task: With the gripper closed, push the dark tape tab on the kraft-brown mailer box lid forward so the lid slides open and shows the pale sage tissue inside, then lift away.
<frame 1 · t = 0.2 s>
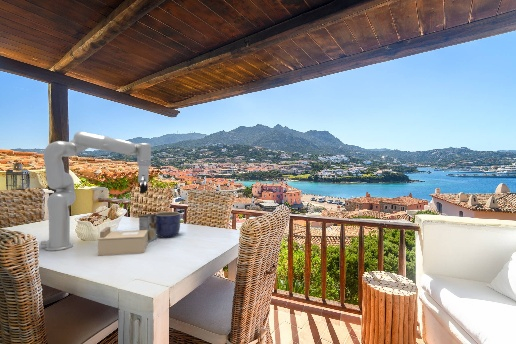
hand: (143, 192, 165), 31 cm above the table, tool pointing down, fingers open, 9 cm apart
planter: (167, 235, 185), on the table
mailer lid: (124, 249, 153), resting on mailer box, slide at 0.0 cm
mailer box: (124, 249, 153), on the table
coffee box: (147, 240, 173), on the table
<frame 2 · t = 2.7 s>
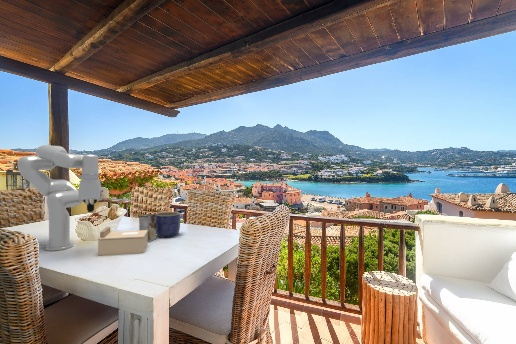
hand: (90, 211, 148), 22 cm above the table, tool pointing down, fingers closed
nothing on the table moved.
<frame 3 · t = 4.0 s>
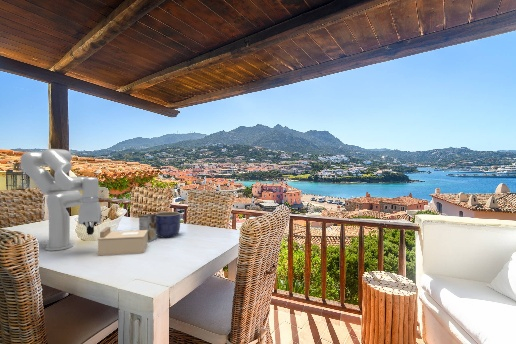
hand: (90, 234, 148), 10 cm above the table, tool pointing down, fingers closed
nothing on the table moved.
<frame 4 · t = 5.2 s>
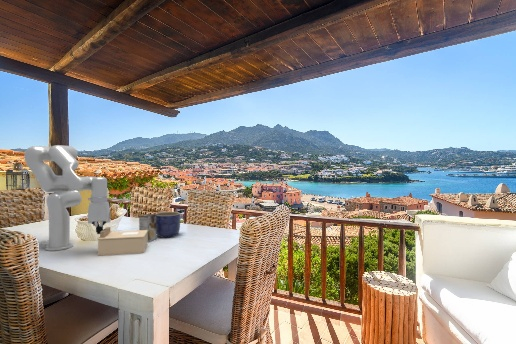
hand: (99, 233, 149), 10 cm above the table, tool pointing down, fingers closed
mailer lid: (124, 249, 153), resting on mailer box, slide at 0.0 cm, touching gripper
everything else where it was.
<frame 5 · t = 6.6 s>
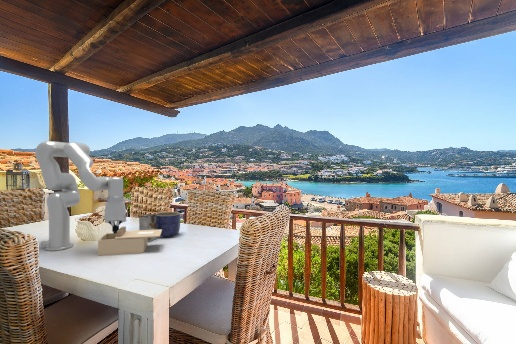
hand: (115, 232, 151), 10 cm above the table, tool pointing down, fingers closed
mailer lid: (139, 249, 155), resting on mailer box, slide at 8.0 cm, touching gripper
everything else where it was.
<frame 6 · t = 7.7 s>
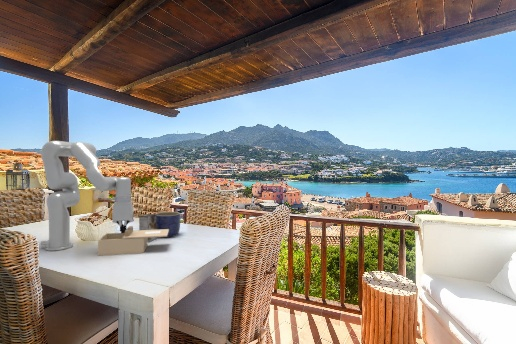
hand: (123, 232, 152), 10 cm above the table, tool pointing down, fingers closed
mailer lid: (147, 248, 156), resting on mailer box, slide at 11.9 cm, touching gripper
everything else where it was.
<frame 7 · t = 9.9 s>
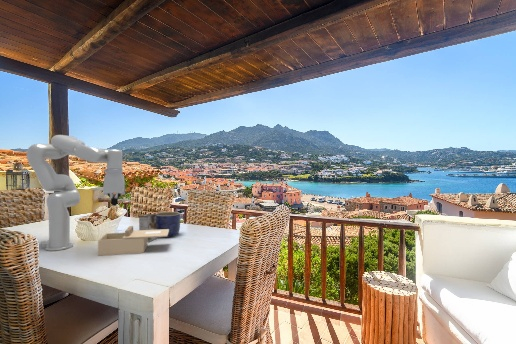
hand: (114, 205, 151), 25 cm above the table, tool pointing down, fingers closed
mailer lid: (147, 248, 156), resting on mailer box, slide at 12.0 cm
everything else where it was.
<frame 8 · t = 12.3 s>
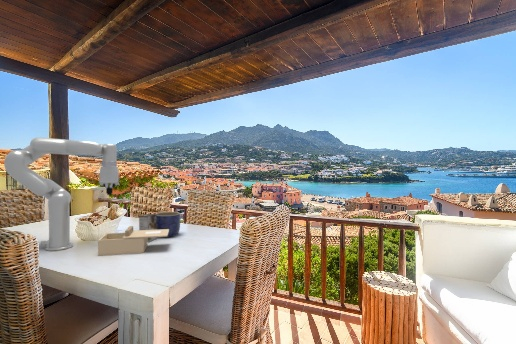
hand: (109, 194, 166), 29 cm above the table, tool pointing down, fingers closed
nothing on the table moved.
at the end: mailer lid slide at 12.0 cm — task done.
